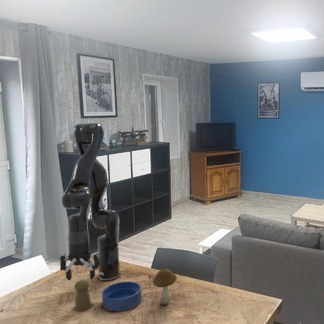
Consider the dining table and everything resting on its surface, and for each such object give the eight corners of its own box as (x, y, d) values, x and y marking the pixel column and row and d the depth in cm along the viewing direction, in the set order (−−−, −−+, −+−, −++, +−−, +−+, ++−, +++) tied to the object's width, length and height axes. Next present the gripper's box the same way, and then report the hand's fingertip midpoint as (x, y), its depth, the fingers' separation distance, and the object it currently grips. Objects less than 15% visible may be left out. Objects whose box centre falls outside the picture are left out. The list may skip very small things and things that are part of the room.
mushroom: (180, 297, 146) (180, 264, 145) (170, 311, 135) (169, 276, 133) (160, 295, 148) (160, 262, 146) (149, 309, 137) (148, 274, 135)
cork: (84, 312, 135) (83, 285, 133) (71, 310, 136) (69, 284, 134) (94, 303, 140) (93, 278, 139) (81, 302, 142) (80, 277, 140)
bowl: (108, 294, 148) (108, 282, 148) (144, 292, 150) (143, 280, 150) (97, 313, 134) (97, 300, 133) (137, 311, 135) (137, 298, 135)
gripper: (100, 236, 139) (102, 274, 141) (64, 237, 137) (66, 275, 139) (94, 243, 132) (96, 282, 134) (55, 244, 130) (58, 284, 132)
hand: (80, 279), depth 136 cm, fingers open, 8 cm apart
